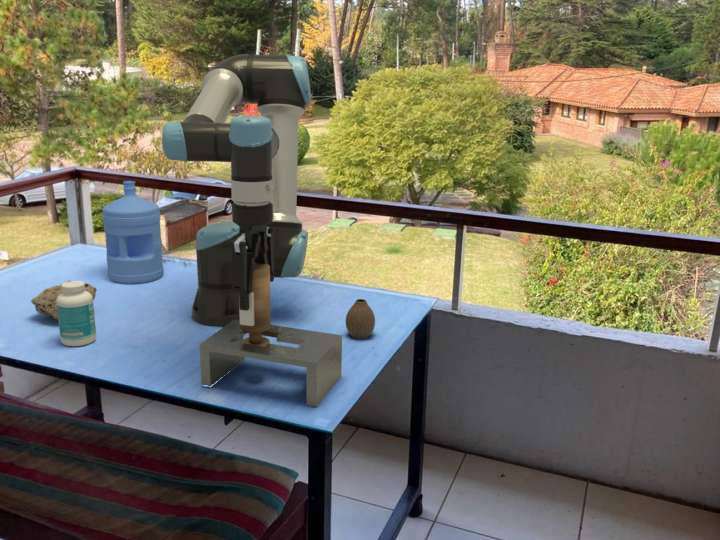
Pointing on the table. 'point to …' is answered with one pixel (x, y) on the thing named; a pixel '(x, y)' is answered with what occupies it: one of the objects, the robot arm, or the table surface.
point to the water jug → (133, 238)
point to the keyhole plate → (276, 355)
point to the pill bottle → (76, 314)
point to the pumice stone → (54, 299)
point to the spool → (259, 306)
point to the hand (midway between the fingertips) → (254, 318)
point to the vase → (360, 320)
